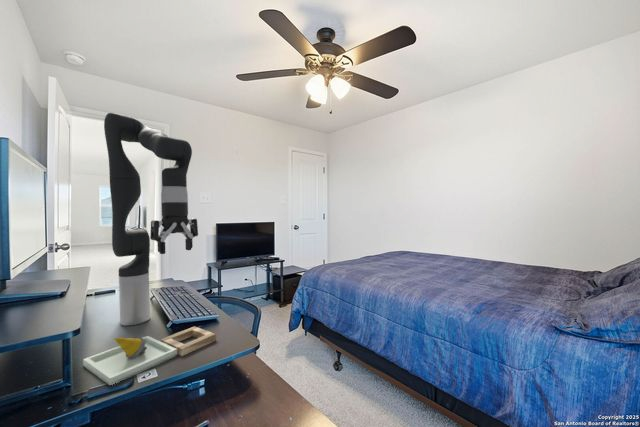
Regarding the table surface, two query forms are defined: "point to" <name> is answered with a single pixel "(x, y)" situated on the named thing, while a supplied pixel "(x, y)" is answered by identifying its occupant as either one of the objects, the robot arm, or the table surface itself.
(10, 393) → the table surface
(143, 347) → the yellow cone
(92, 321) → the table surface
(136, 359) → the tray
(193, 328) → the square wooden frame
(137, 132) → the robot arm
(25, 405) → the table surface
